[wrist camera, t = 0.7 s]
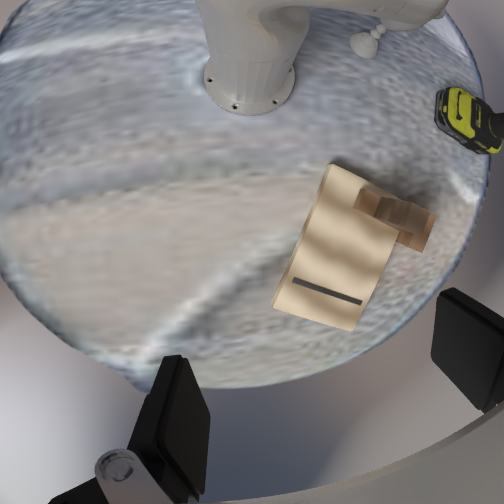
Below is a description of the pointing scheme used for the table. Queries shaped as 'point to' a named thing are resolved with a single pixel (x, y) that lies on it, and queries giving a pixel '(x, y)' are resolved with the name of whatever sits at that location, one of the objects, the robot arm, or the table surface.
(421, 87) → the table surface
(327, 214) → the birch board
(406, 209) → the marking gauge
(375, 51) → the chalice
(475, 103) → the power drill
